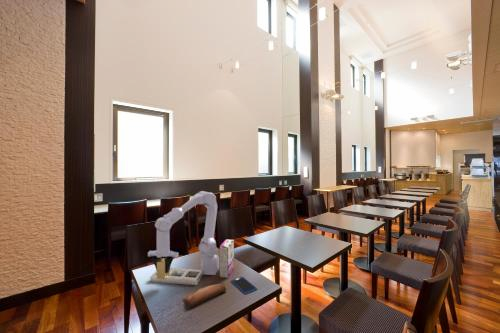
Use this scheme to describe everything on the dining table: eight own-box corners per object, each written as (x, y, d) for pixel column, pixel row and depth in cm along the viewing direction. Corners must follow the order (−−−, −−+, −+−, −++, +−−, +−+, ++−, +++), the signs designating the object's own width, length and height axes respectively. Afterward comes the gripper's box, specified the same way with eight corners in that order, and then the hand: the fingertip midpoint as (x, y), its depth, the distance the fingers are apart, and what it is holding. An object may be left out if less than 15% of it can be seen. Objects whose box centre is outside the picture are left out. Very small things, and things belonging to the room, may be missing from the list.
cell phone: (242, 277, 112) (242, 276, 112) (258, 290, 100) (258, 289, 100) (230, 281, 108) (230, 280, 108) (245, 295, 96) (245, 294, 96)
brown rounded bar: (216, 284, 104) (220, 275, 102) (223, 297, 100) (227, 288, 98) (181, 299, 92) (184, 290, 90) (187, 315, 88) (191, 305, 85)
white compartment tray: (203, 274, 114) (203, 270, 114) (196, 285, 104) (196, 280, 104) (161, 271, 117) (161, 267, 117) (150, 281, 107) (150, 276, 107)
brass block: (169, 275, 104) (169, 258, 103) (164, 279, 100) (164, 262, 99) (161, 274, 104) (161, 258, 104) (156, 278, 100) (156, 262, 100)
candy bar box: (225, 267, 122) (225, 238, 122) (234, 268, 121) (234, 239, 121) (219, 277, 111) (219, 246, 111) (228, 278, 110) (228, 246, 110)
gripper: (143, 245, 99) (143, 274, 99) (173, 247, 97) (173, 276, 97) (152, 240, 106) (152, 267, 106) (180, 241, 104) (180, 269, 104)
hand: (163, 271), depth 102 cm, fingers closed on brass block, 4 cm apart
